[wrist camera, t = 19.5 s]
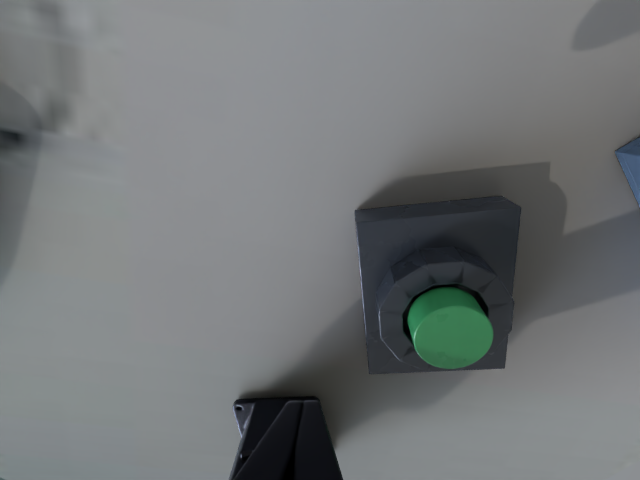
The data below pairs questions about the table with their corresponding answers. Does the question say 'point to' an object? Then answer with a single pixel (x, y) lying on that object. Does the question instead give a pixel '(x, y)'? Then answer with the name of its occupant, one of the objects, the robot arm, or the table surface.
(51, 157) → the table surface
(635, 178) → the blue shallow square tray
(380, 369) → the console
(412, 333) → the button
